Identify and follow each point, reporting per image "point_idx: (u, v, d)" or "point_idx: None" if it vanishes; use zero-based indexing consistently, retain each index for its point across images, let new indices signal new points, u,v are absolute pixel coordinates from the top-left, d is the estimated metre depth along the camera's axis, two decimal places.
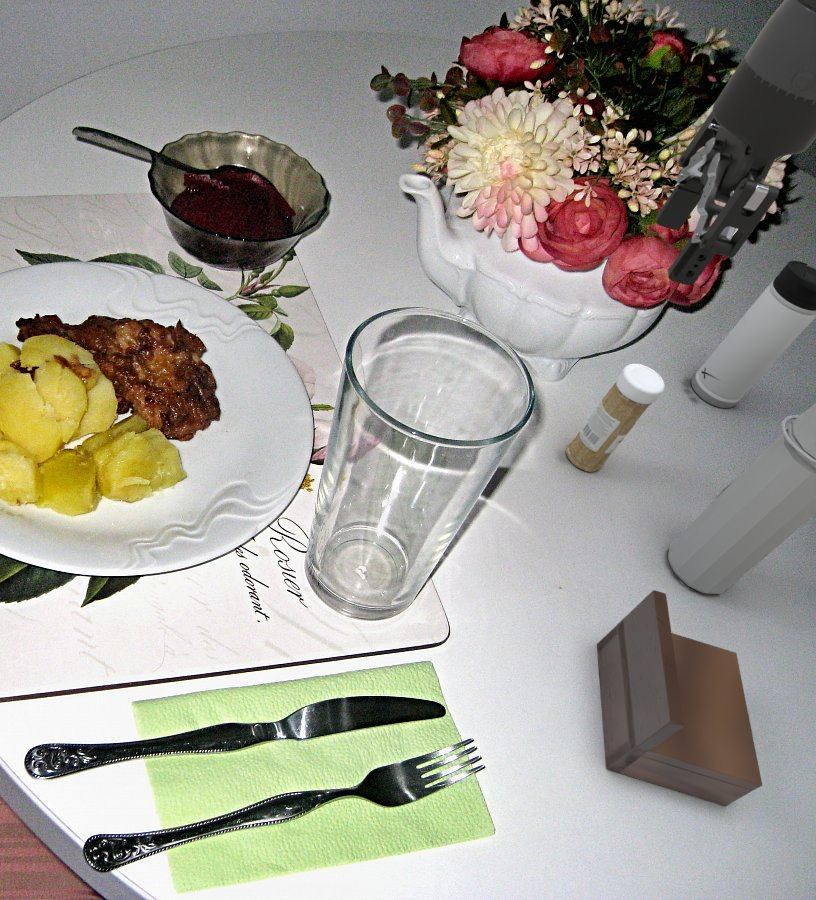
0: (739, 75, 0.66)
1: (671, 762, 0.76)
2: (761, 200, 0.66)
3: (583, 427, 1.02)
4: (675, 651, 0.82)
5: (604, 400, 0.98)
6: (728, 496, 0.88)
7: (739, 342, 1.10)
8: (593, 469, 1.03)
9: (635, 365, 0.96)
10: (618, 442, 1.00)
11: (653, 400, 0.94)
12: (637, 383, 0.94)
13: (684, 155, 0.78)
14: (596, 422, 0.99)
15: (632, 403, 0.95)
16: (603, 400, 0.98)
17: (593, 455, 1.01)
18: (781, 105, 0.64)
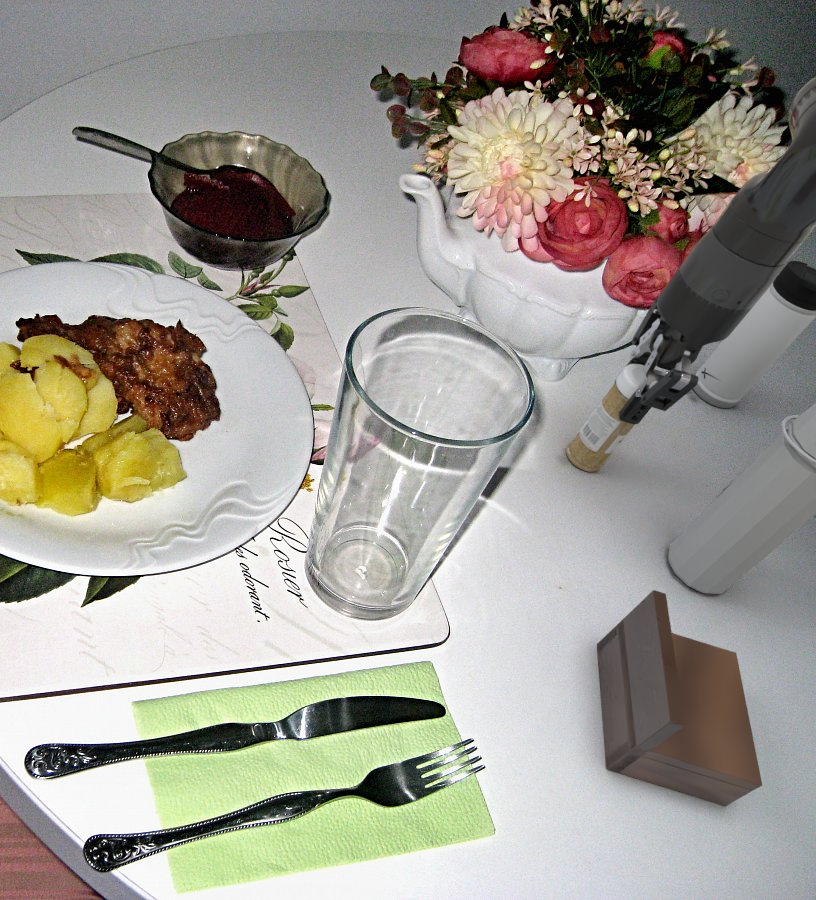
0: (675, 282, 0.86)
1: (671, 762, 0.76)
2: (684, 386, 0.87)
3: (583, 427, 1.02)
4: (675, 651, 0.82)
5: (604, 400, 0.98)
6: (728, 496, 0.88)
7: (739, 342, 1.10)
8: (593, 469, 1.03)
9: (635, 365, 0.96)
10: (618, 442, 1.00)
11: None
12: (637, 383, 0.94)
13: (636, 336, 0.97)
14: (596, 422, 0.99)
15: None
16: (603, 400, 0.98)
17: (593, 455, 1.01)
18: (705, 310, 0.84)
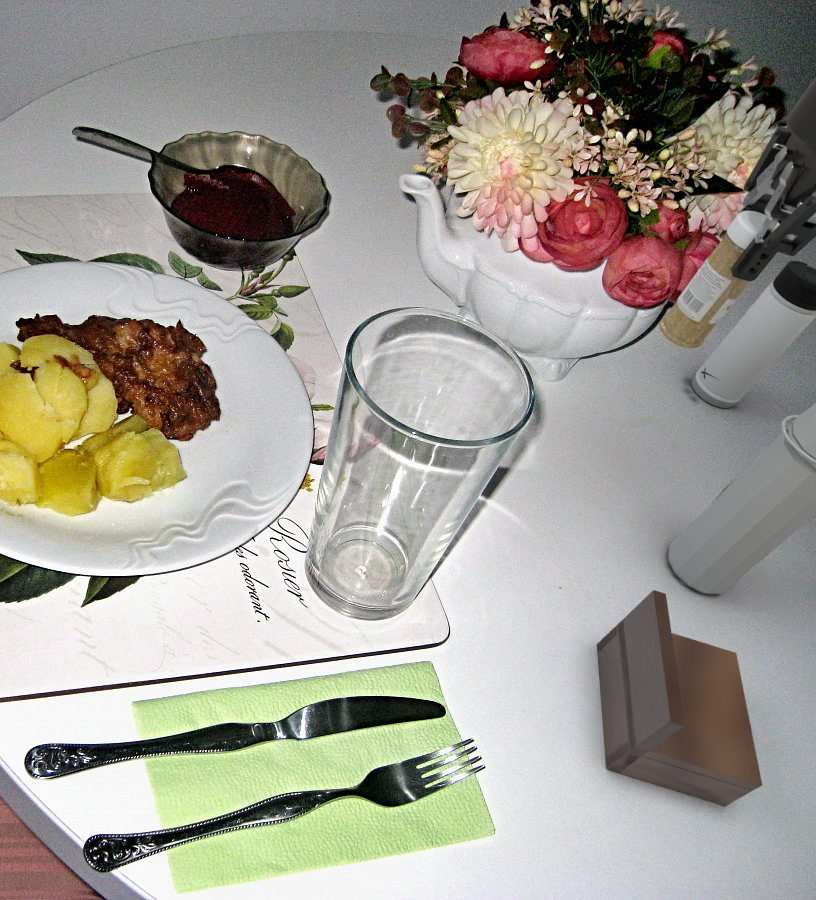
0: (814, 90, 0.71)
1: (671, 762, 0.76)
2: None
3: (682, 294, 0.87)
4: (675, 651, 0.82)
5: (711, 257, 0.84)
6: (728, 496, 0.88)
7: (739, 342, 1.10)
8: (693, 345, 0.88)
9: (750, 212, 0.81)
10: (726, 309, 0.85)
11: None
12: (755, 229, 0.79)
13: (749, 180, 0.83)
14: (700, 285, 0.85)
15: None
16: (709, 258, 0.84)
17: (694, 326, 0.87)
18: None
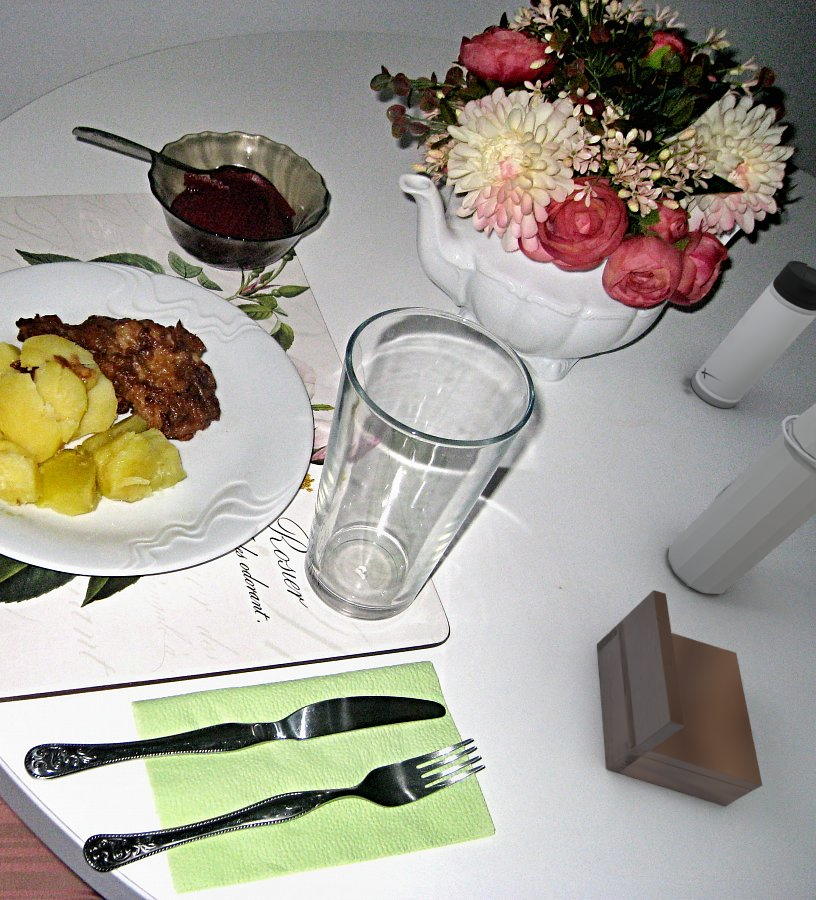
0: None
1: (671, 762, 0.76)
2: None
3: None
4: (675, 651, 0.82)
5: None
6: (728, 496, 0.88)
7: (739, 342, 1.10)
8: None
9: None
10: None
11: None
12: None
13: None
14: None
15: None
16: None
17: None
18: None
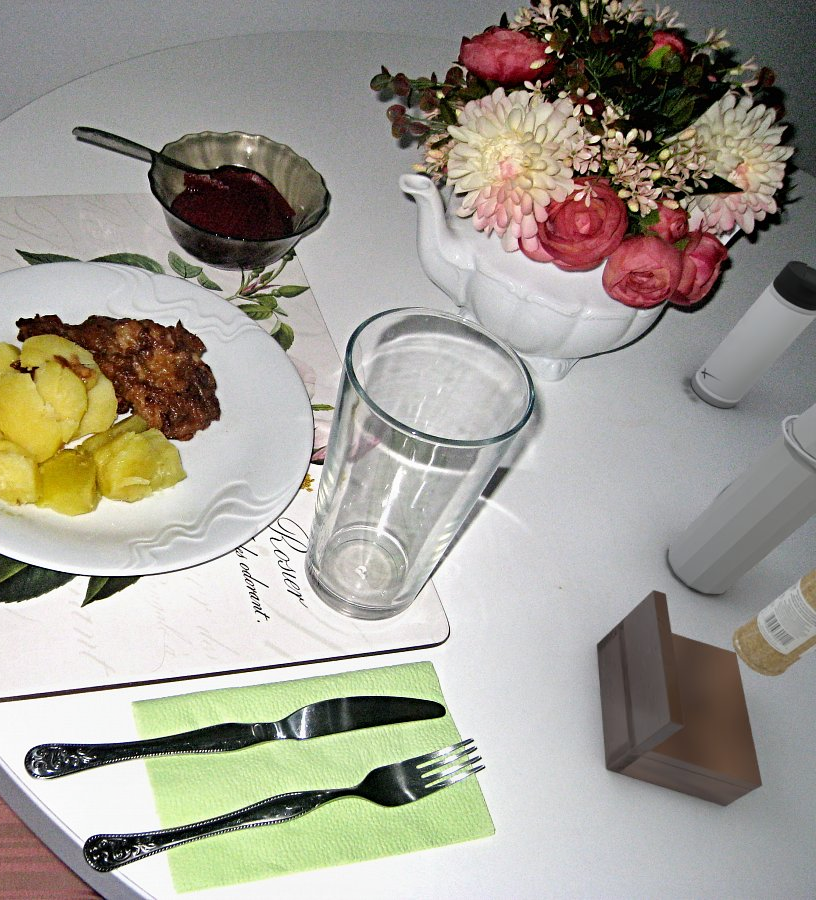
0: None
1: (671, 762, 0.76)
2: None
3: (764, 616, 0.70)
4: (675, 651, 0.82)
5: (805, 586, 0.67)
6: (728, 496, 0.88)
7: (739, 342, 1.10)
8: (776, 674, 0.71)
9: None
10: None
11: None
12: None
13: None
14: (790, 617, 0.68)
15: None
16: (802, 586, 0.67)
17: (780, 657, 0.70)
18: None
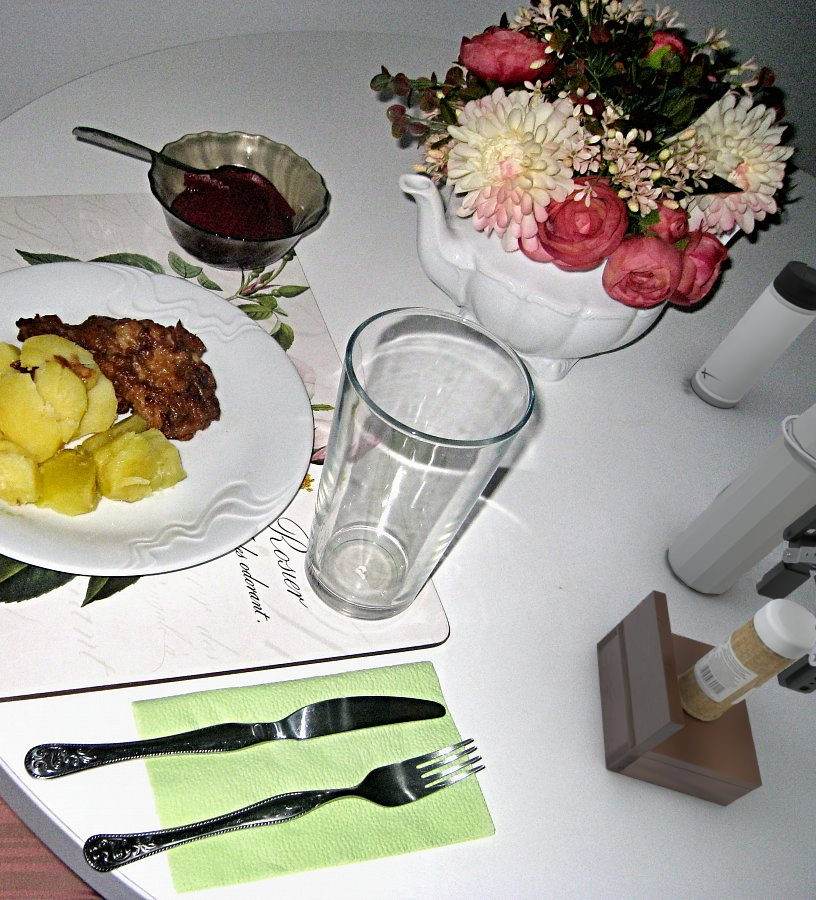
0: None
1: (671, 762, 0.76)
2: None
3: (700, 667, 0.76)
4: (675, 651, 0.82)
5: (734, 642, 0.73)
6: (728, 496, 0.88)
7: (739, 342, 1.10)
8: (711, 719, 0.77)
9: (781, 602, 0.71)
10: (750, 693, 0.74)
11: None
12: (787, 634, 0.68)
13: (790, 530, 0.72)
14: (722, 669, 0.74)
15: (778, 657, 0.70)
16: (732, 641, 0.73)
17: (714, 704, 0.76)
18: None
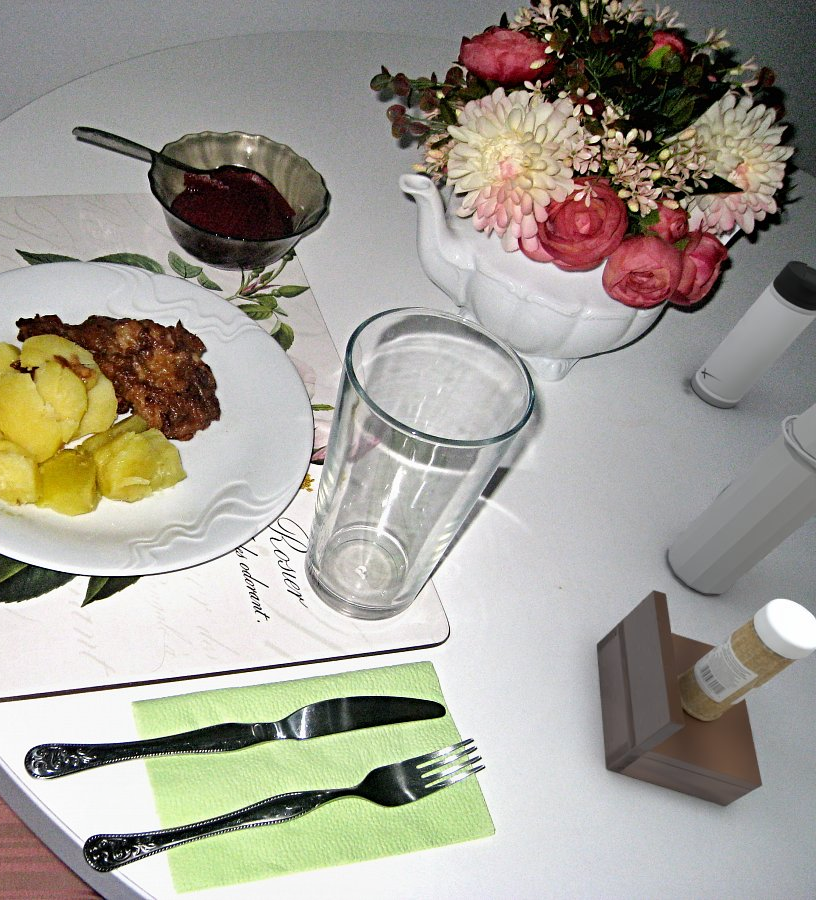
0: None
1: (671, 762, 0.76)
2: None
3: (700, 667, 0.76)
4: (675, 651, 0.82)
5: (734, 642, 0.73)
6: (728, 496, 0.88)
7: (739, 342, 1.10)
8: (711, 719, 0.78)
9: (781, 602, 0.71)
10: (750, 693, 0.74)
11: None
12: (787, 634, 0.68)
13: None
14: (722, 669, 0.74)
15: (778, 657, 0.70)
16: (732, 641, 0.73)
17: (714, 704, 0.76)
18: None
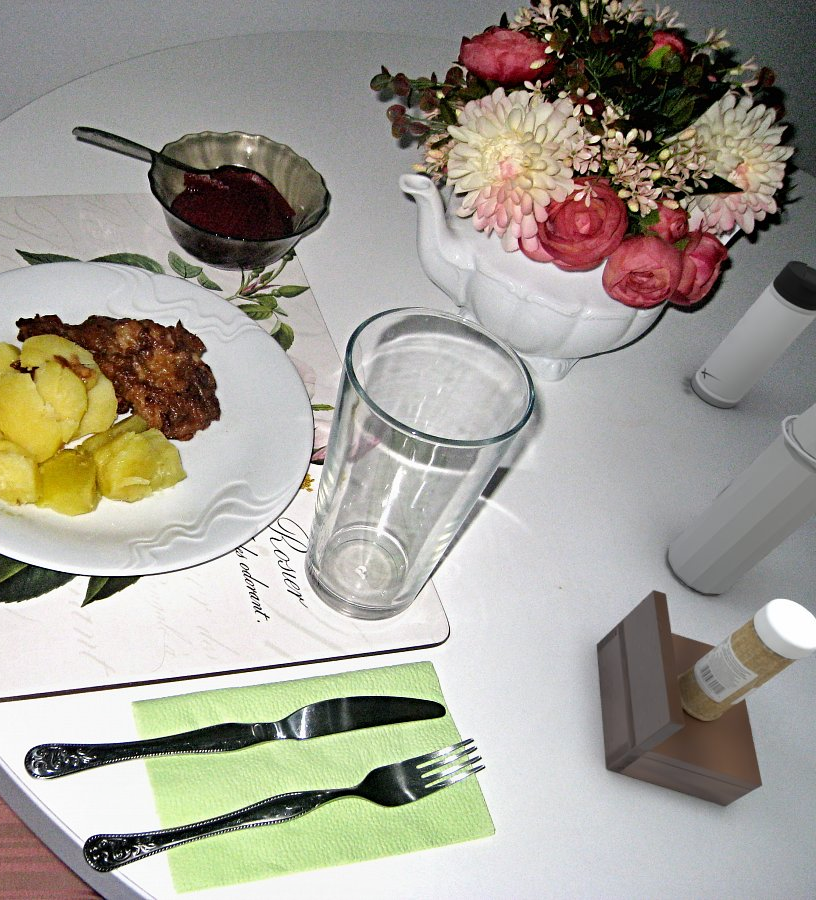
0: None
1: (671, 762, 0.76)
2: None
3: (700, 667, 0.76)
4: (675, 651, 0.82)
5: (734, 642, 0.73)
6: (728, 496, 0.88)
7: (739, 342, 1.10)
8: (711, 719, 0.78)
9: (781, 602, 0.71)
10: (750, 693, 0.74)
11: None
12: (787, 634, 0.68)
13: None
14: (722, 669, 0.74)
15: (778, 657, 0.70)
16: (732, 641, 0.73)
17: (714, 704, 0.76)
18: None
